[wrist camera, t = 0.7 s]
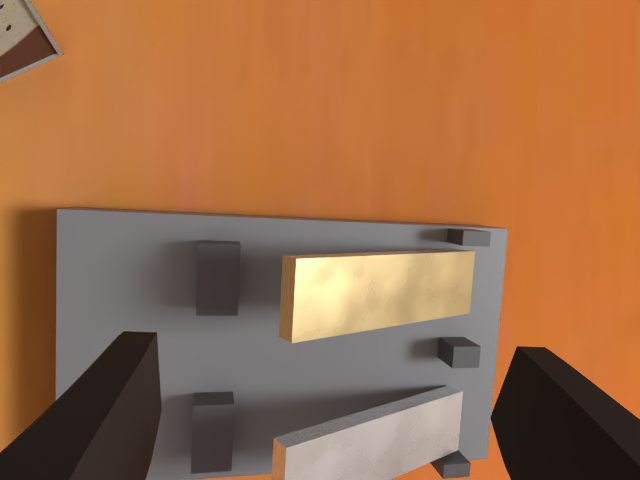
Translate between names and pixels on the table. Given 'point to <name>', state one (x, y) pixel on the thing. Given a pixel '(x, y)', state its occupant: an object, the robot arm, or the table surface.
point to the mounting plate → (264, 330)
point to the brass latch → (371, 290)
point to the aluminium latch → (373, 440)
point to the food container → (23, 39)
